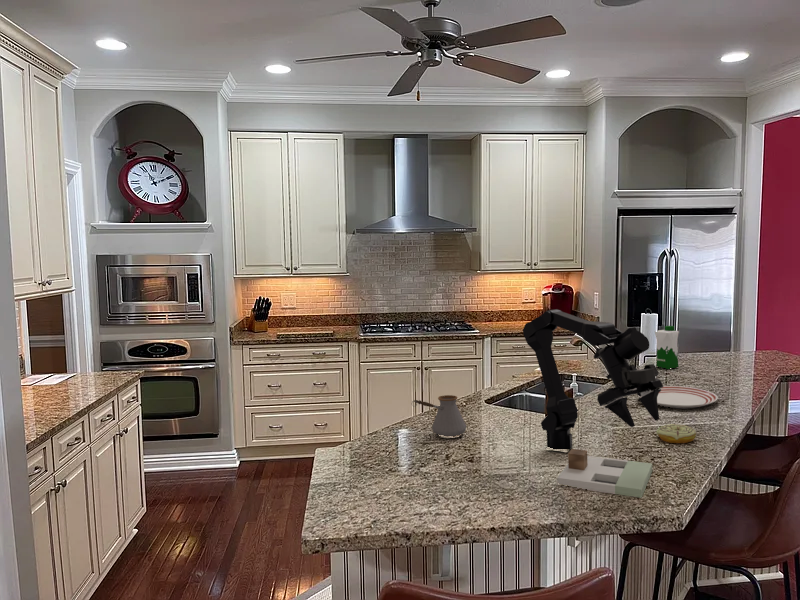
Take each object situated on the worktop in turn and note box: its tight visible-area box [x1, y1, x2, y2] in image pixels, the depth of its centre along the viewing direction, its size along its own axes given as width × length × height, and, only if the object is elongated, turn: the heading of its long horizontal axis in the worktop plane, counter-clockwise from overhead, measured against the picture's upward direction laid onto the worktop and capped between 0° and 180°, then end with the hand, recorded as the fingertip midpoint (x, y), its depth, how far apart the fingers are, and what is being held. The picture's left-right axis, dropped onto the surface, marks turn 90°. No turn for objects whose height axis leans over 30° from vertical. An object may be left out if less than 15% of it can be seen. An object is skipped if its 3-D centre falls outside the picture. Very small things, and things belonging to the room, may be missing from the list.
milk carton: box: [654, 325, 680, 370], centre depth 284 cm, size 9×9×20 cm
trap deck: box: [556, 455, 653, 499], centre depth 153 cm, size 20×19×2 cm
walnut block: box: [567, 448, 588, 470], centre depth 156 cm, size 4×4×4 cm
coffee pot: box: [411, 394, 467, 436], centre depth 192 cm, size 21×12×15 cm, turn 132°
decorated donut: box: [656, 423, 697, 444], centre depth 181 cm, size 10×11×4 cm
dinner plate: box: [637, 385, 719, 409], centre depth 223 cm, size 28×27×3 cm
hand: (645, 423), depth 149 cm, fingers open, 9 cm apart
